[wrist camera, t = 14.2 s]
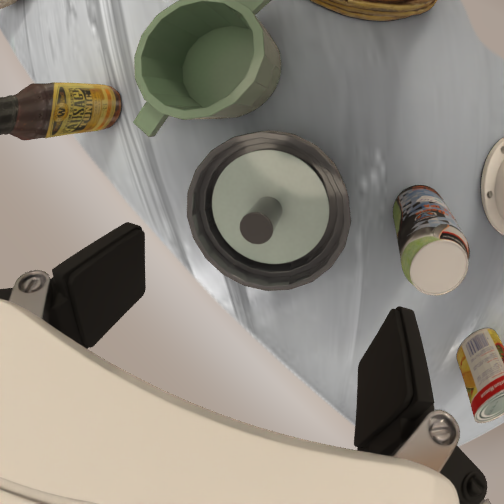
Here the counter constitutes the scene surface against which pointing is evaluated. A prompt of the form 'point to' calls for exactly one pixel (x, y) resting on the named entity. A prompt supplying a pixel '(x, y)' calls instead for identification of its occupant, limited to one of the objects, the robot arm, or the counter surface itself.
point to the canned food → (483, 373)
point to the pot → (205, 62)
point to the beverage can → (429, 241)
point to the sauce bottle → (59, 110)
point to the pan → (236, 263)
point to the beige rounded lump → (6, 3)
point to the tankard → (378, 8)
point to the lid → (270, 206)
